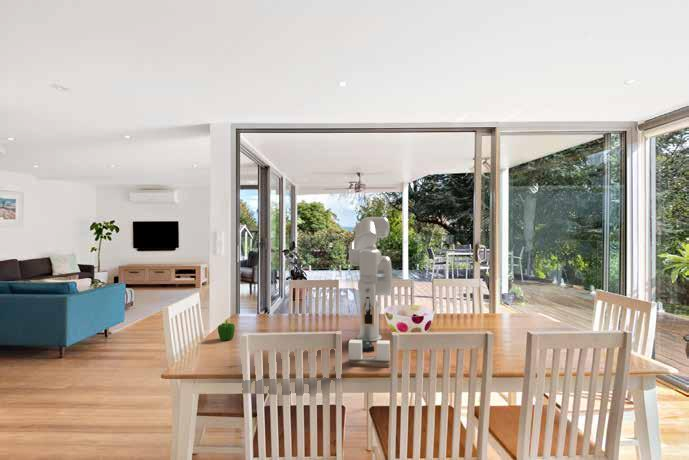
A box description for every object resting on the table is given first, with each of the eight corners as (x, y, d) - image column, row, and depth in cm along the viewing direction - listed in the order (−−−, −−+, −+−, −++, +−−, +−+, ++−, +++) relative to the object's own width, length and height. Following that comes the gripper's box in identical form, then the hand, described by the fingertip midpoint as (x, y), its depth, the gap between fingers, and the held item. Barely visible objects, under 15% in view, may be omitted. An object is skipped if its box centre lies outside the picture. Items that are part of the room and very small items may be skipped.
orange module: (375, 323, 180) (375, 304, 180) (374, 325, 175) (374, 306, 175) (363, 322, 181) (363, 304, 181) (362, 325, 176) (362, 306, 176)
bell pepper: (230, 342, 213) (230, 322, 213) (215, 341, 214) (215, 321, 214) (237, 337, 221) (237, 318, 221) (223, 337, 223) (223, 318, 223)
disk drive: (374, 352, 195) (368, 343, 209) (374, 346, 195) (367, 337, 209) (352, 353, 193) (347, 344, 208) (352, 347, 193) (347, 338, 208)
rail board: (351, 358, 185) (350, 337, 185) (390, 359, 182) (389, 338, 182) (348, 365, 175) (347, 344, 175) (389, 367, 172) (389, 345, 172)
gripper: (376, 282, 169) (376, 327, 169) (378, 276, 186) (379, 318, 186) (357, 281, 170) (358, 326, 170) (361, 276, 187) (362, 317, 187)
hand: (369, 321), depth 178 cm, fingers closed on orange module, 5 cm apart
